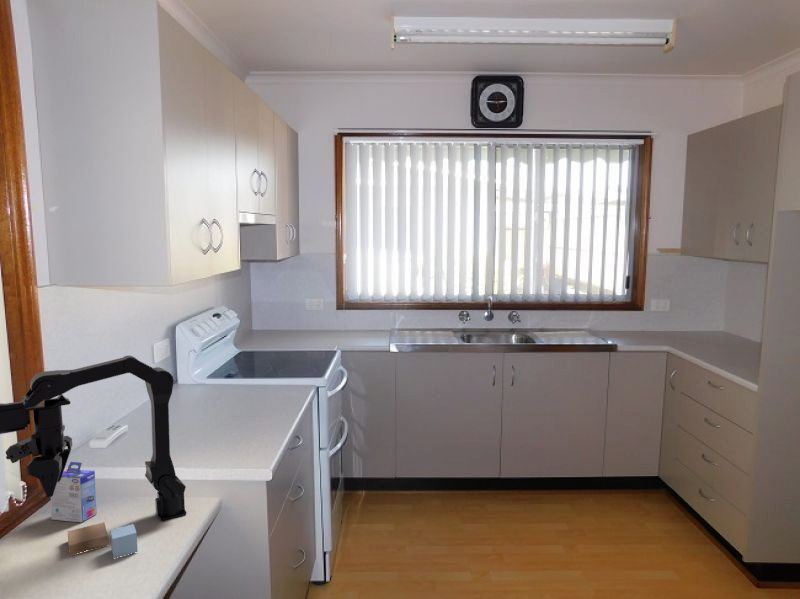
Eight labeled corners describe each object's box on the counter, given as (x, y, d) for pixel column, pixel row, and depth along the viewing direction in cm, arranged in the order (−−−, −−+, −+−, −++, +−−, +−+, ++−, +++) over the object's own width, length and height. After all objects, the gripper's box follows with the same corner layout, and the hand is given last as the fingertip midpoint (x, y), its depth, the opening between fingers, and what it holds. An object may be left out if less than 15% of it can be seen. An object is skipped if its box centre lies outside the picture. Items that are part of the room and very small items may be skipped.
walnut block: (105, 533, 138) (104, 522, 138) (108, 547, 132) (107, 535, 131) (68, 543, 134) (67, 531, 134) (69, 557, 127) (68, 545, 127)
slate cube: (134, 544, 132) (133, 524, 132) (137, 553, 128) (136, 532, 128) (111, 550, 130) (110, 529, 129) (113, 559, 126) (112, 538, 125)
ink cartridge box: (98, 513, 148) (95, 461, 147) (82, 523, 143) (79, 469, 142) (67, 510, 150) (64, 459, 149) (50, 520, 145) (47, 467, 144)
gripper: (18, 419, 135) (23, 480, 137) (-4, 443, 118) (2, 512, 119) (70, 413, 139) (75, 472, 141) (56, 435, 122) (61, 502, 124)
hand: (53, 488), depth 131 cm, fingers open, 9 cm apart
